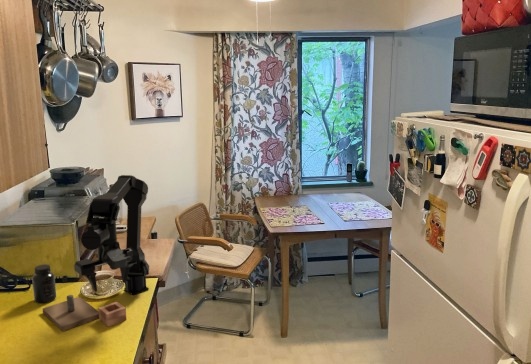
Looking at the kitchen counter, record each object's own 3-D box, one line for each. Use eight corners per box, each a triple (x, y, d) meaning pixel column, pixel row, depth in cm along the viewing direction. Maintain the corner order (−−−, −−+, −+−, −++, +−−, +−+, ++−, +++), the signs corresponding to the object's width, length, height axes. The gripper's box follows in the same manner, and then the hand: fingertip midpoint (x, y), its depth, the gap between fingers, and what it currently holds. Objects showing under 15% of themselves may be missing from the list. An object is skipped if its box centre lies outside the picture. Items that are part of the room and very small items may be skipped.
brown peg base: (79, 300, 153) (78, 282, 152) (101, 317, 142) (99, 298, 141) (42, 312, 145) (40, 294, 144) (62, 331, 134) (60, 311, 132)
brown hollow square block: (117, 313, 145) (116, 301, 144) (126, 319, 141) (125, 307, 140) (99, 319, 141) (98, 307, 140) (108, 326, 137) (107, 314, 136)
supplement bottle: (30, 301, 152) (26, 268, 150) (47, 293, 158) (44, 261, 156) (43, 306, 149) (39, 272, 147) (61, 297, 155) (57, 265, 153)
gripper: (87, 252, 123) (91, 305, 126) (148, 238, 136) (150, 286, 139) (71, 243, 131) (75, 293, 134) (130, 230, 144) (132, 275, 147)
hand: (110, 286), depth 138 cm, fingers open, 9 cm apart
